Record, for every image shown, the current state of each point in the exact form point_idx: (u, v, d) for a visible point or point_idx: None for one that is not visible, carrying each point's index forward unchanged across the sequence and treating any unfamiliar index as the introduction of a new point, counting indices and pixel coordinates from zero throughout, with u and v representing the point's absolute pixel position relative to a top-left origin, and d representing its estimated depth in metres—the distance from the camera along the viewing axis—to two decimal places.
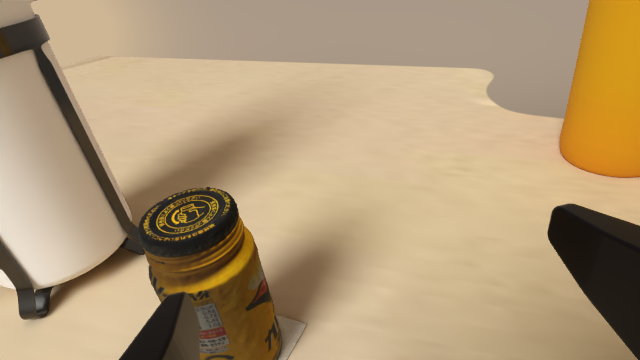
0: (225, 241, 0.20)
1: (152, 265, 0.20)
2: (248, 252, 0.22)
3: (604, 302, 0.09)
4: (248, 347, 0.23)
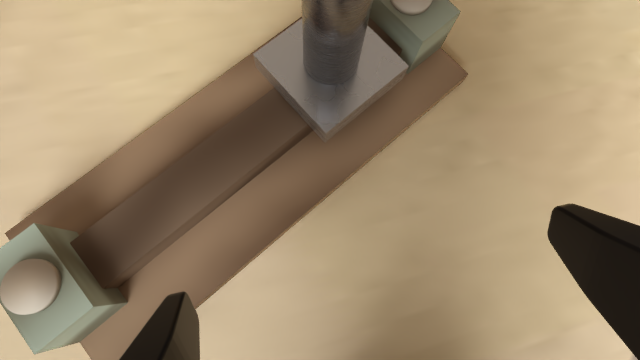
0: None
1: None
2: None
3: (604, 302, 0.09)
4: None
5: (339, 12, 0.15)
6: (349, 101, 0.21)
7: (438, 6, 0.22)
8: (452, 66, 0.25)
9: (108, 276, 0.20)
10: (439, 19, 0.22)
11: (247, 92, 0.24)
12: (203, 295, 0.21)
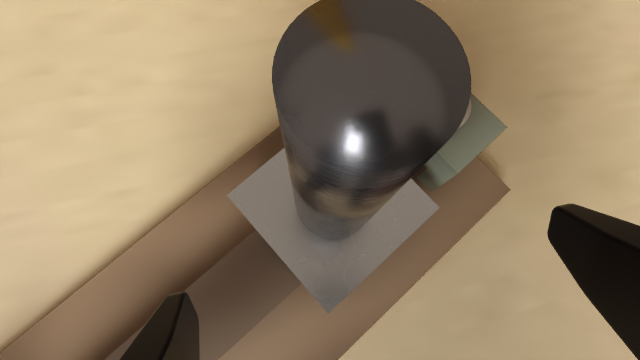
0: None
1: None
2: None
3: (604, 302, 0.09)
4: None
5: (348, 216, 0.10)
6: (360, 262, 0.15)
7: (477, 120, 0.16)
8: (489, 179, 0.19)
9: None
10: (479, 139, 0.16)
11: (224, 222, 0.19)
12: None
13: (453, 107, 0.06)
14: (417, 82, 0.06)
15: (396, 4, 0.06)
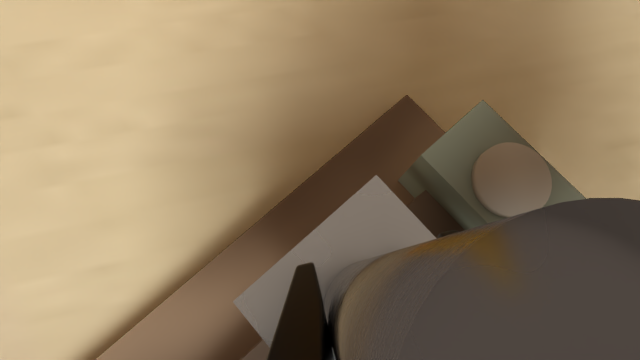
0: None
1: None
2: None
3: None
4: None
5: None
6: None
7: (557, 199, 0.13)
8: None
9: None
10: None
11: (228, 312, 0.15)
12: None
13: None
14: None
15: None
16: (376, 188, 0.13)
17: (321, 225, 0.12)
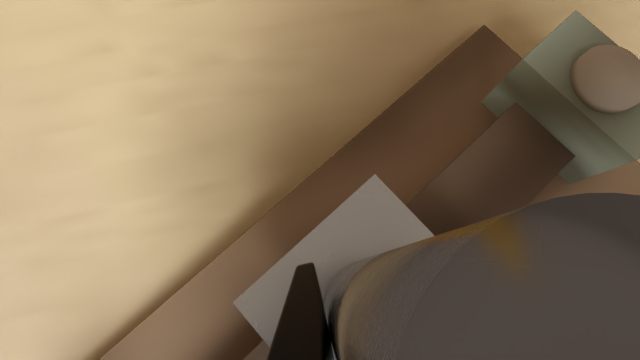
0: None
1: None
2: None
3: None
4: None
5: None
6: None
7: None
8: (634, 169, 0.17)
9: None
10: None
11: None
12: None
13: None
14: None
15: None
16: (375, 187, 0.13)
17: (320, 225, 0.12)
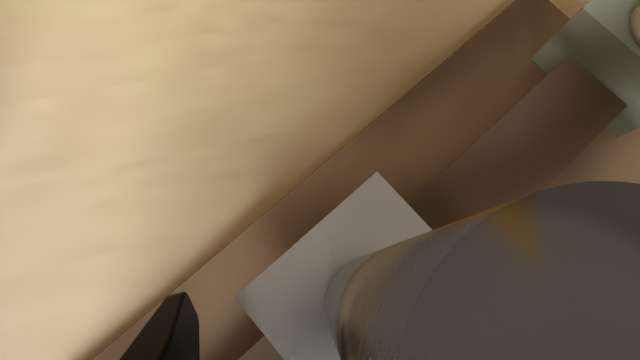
0: None
1: None
2: None
3: None
4: None
5: None
6: None
7: None
8: None
9: None
10: None
11: (388, 169, 0.16)
12: None
13: None
14: None
15: None
16: (377, 185, 0.13)
17: (322, 221, 0.13)
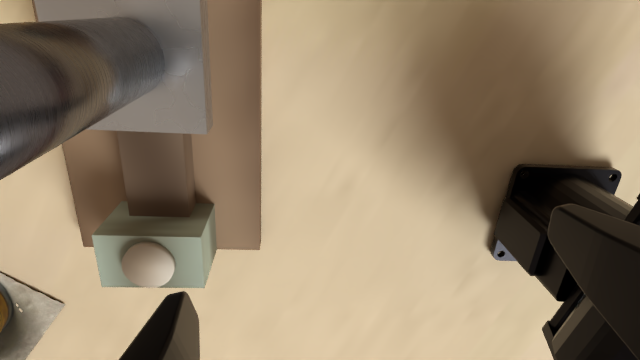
0: None
1: None
2: None
3: (604, 302, 0.09)
4: None
5: (88, 124, 0.11)
6: (190, 82, 0.16)
7: None
8: None
9: (182, 207, 0.20)
10: None
11: None
12: (256, 150, 0.21)
13: None
14: None
15: None
16: None
17: None
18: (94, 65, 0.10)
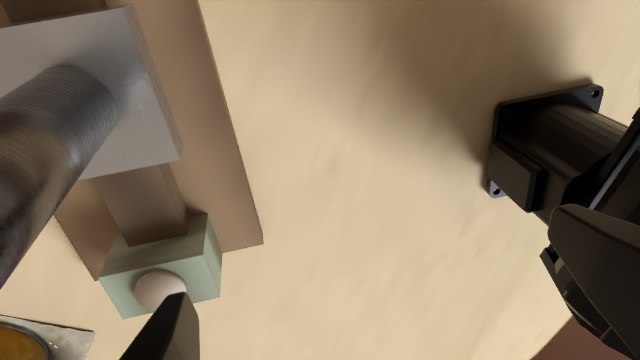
0: None
1: None
2: None
3: (604, 302, 0.09)
4: None
5: (55, 209, 0.10)
6: (147, 115, 0.15)
7: None
8: None
9: (177, 227, 0.20)
10: None
11: None
12: (235, 154, 0.20)
13: None
14: None
15: None
16: None
17: None
18: (40, 152, 0.10)
